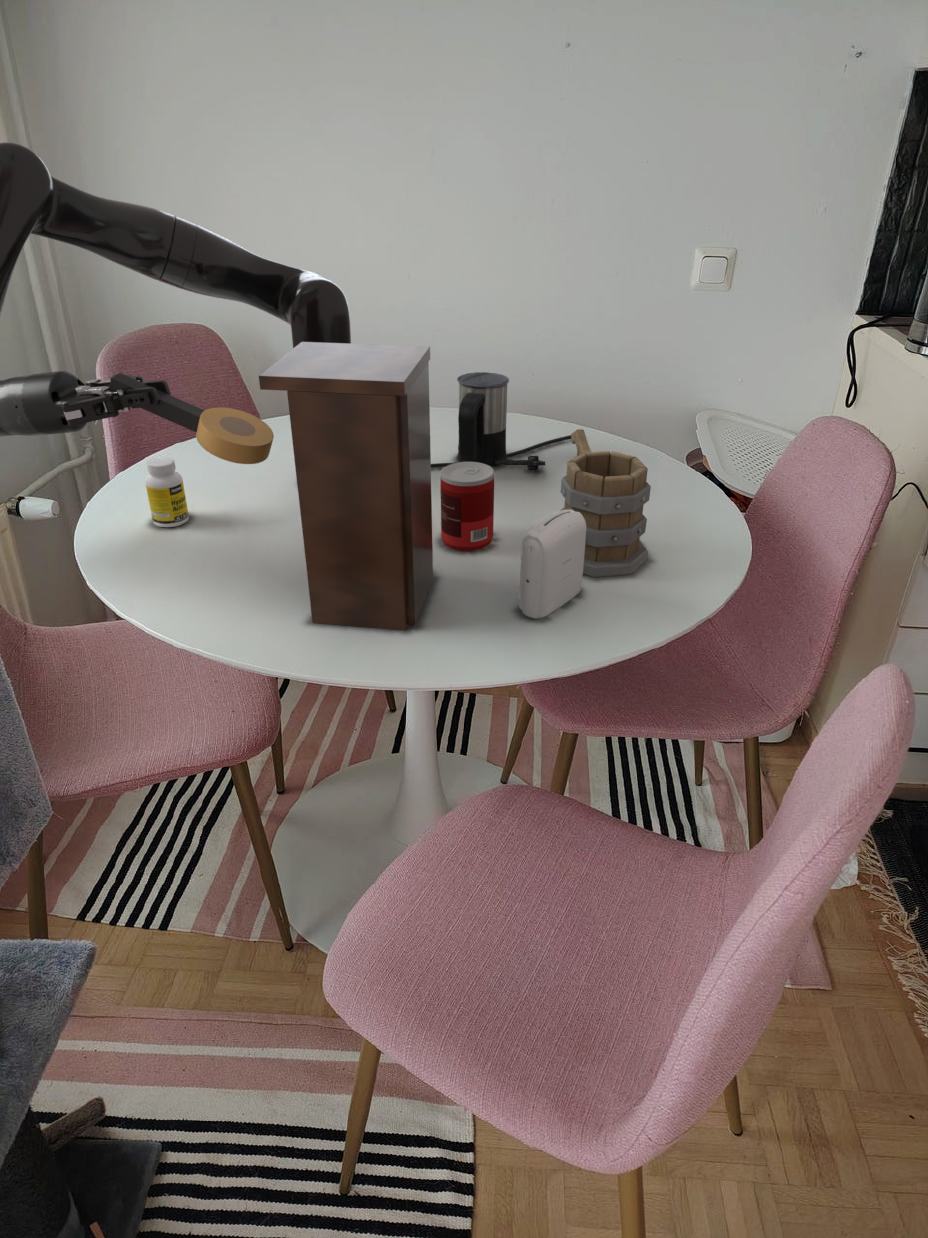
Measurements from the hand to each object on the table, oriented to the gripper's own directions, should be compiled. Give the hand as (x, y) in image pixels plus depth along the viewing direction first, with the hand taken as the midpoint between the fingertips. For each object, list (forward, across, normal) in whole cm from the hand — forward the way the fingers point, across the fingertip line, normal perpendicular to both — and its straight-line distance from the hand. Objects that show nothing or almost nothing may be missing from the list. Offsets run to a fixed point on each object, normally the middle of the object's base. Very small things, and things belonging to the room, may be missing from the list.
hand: (161, 392), depth 105 cm
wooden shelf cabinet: (+21, -2, +29) cm, 36 cm away
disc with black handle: (+2, 0, +4) cm, 5 cm away
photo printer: (+45, +1, +32) cm, 55 cm away
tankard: (+49, +19, +33) cm, 62 cm away
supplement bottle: (-15, +16, +24) cm, 32 cm away
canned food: (+31, +17, +31) cm, 47 cm away
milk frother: (+32, +48, +31) cm, 65 cm away
